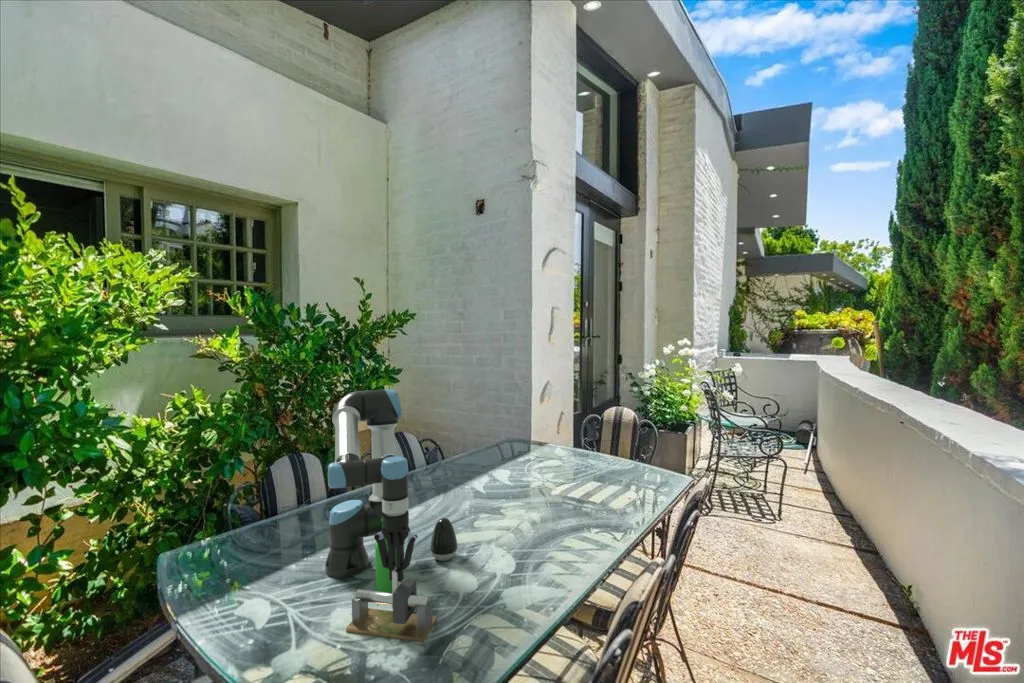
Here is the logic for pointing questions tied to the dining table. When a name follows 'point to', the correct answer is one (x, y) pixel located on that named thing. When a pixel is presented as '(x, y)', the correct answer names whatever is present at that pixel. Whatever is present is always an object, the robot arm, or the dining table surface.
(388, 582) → the bottle
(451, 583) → the dining table surface
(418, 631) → the pipe stand
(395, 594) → the grey sliding block
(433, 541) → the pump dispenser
